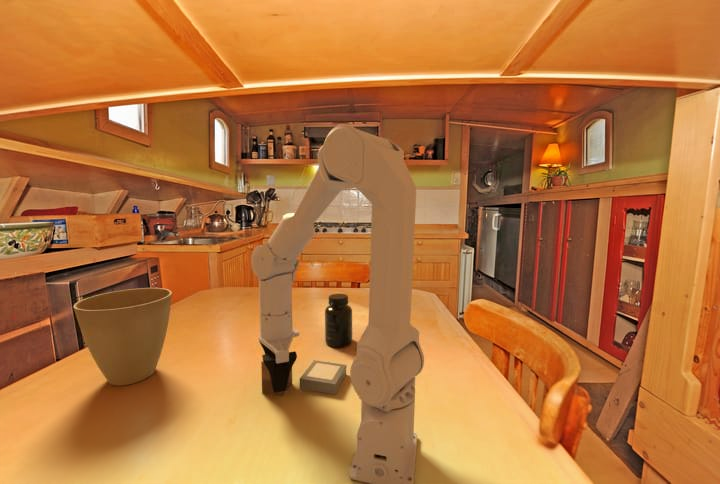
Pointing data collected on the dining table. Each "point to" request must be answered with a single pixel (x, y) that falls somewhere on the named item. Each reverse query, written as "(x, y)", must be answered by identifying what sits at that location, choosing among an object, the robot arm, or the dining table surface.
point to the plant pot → (125, 331)
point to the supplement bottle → (338, 321)
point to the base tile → (323, 377)
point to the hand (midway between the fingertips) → (277, 381)
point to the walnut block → (268, 385)
